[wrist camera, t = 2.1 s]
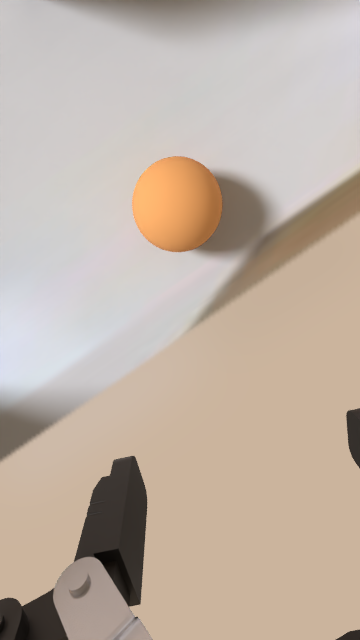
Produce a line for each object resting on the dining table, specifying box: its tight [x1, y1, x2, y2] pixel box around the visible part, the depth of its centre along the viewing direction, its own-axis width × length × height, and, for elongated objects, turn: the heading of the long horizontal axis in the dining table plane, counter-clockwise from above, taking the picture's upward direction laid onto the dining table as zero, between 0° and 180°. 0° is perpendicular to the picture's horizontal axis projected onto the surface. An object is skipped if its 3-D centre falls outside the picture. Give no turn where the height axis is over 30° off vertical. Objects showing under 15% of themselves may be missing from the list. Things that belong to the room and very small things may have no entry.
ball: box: [132, 156, 222, 252], centre depth 22 cm, size 6×6×6 cm
